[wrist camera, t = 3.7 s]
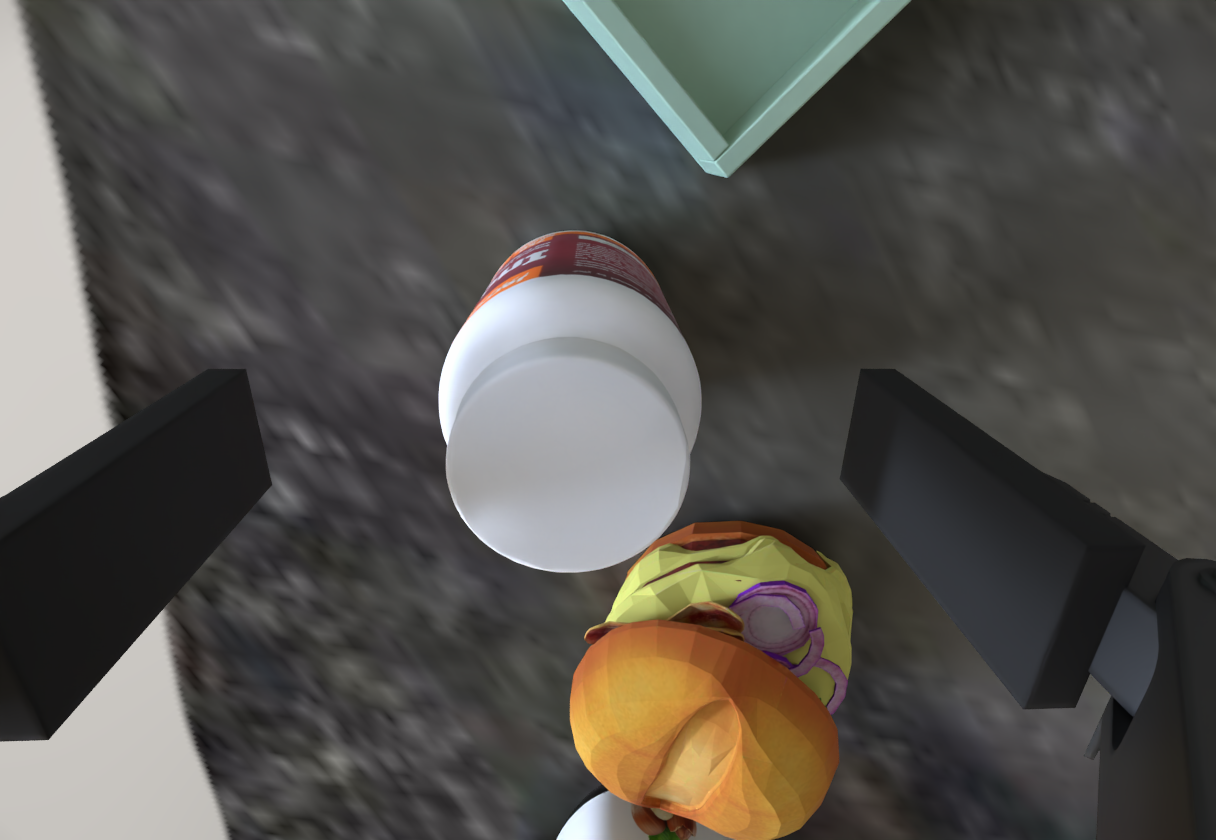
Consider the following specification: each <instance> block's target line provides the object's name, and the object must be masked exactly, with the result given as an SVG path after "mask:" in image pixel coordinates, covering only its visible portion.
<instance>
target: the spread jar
mask: <svg viewBox="0 0 1216 840" xmlns="http://www.w3.org/2000/svg"><path fill="white" fill-rule="evenodd" d="M557 840H736V839H732V838H729V837H725V836H723V835H721V834H719V833H717V832H715V831H714V830H712V829H710V828H708V827H706V826H704V825H702V824H700V823H698V822H696V821H694V820H692V819H688V818H685V817H682V816H678V815H675V814H672V813H669V812H666V811H664V810H661V809H657V808H648V807H643V806H639V805H635V804H633V803H630V802H628V801H625V800H623V799H621V798H619V797H617V796H616V795H614V794H613V793H611V792H610V791H609V790H608V789H607V788H606V787H605V786H604V785H601V786H599V787H598V788H596V789H595V790H594V791H592V792H591V793H590V794H589V795H587V796H586V797H585V798H584V799H583V800H582V801H581V802H580V803H579V805H578V806H577V807H576V808H575V809H574V811H573V812H572V813H571V814H570V816H569V817H568V819H567V820H566V822H565V824H564V826H563V828H562V830H561V832H560V833H559V835H558V837H557Z"/></svg>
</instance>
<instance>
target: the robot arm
mask: <svg viewBox="0 0 1216 840" xmlns="http://www.w3.org/2000/svg"><path fill="white" fill-rule="evenodd" d="M840 480H841V481H842V482H843V484H844V485H845V486H846V487H847V489H848V490H849V491H850V492H851V494H852V495H853V496H854V497H855V499H856V500H857V501H858V502H859V504H860V505H861V506H862V507H863V509H864V510H865V511H866V512H867V514H868V515H869V516H870V517H871V519H872V520H873V521H874V522H875V524H876V525H877V526H878V527H879V529H880V530H881V531H882V533H883V534H884V535H885V536H886V538H887V539H888V540H889V541H890V543H891V544H892V545H893V546H894V548H895V549H896V550H897V551H898V553H899V554H900V555H901V556H902V558H903V559H904V560H905V561H906V563H907V564H908V565H909V566H910V568H911V569H912V570H913V571H914V573H915V574H916V575H917V576H918V578H919V579H920V580H921V581H922V583H923V584H924V585H925V587H926V588H927V589H928V590H929V592H930V593H931V594H932V595H933V597H934V598H935V599H936V600H937V602H938V603H939V604H940V605H941V607H942V608H943V609H944V610H945V612H946V613H947V614H948V615H949V617H950V618H951V619H952V620H953V622H954V623H955V624H956V625H957V627H958V628H959V629H960V630H961V632H962V633H963V634H964V635H965V637H966V638H967V639H968V640H969V642H970V643H971V644H972V646H973V647H974V648H975V649H976V651H977V652H978V653H979V654H980V656H981V657H982V658H983V659H984V661H985V662H986V663H987V664H988V666H989V667H990V668H991V669H992V671H993V672H994V673H995V674H996V676H997V677H998V678H999V679H1000V681H1001V682H1002V683H1003V684H1004V686H1005V687H1006V688H1007V689H1008V691H1009V692H1010V693H1011V694H1012V696H1013V697H1014V698H1015V700H1016V701H1017V702H1018V703H1019V705H1020V706H1021V707H1022V708H1023V709H1048V708H1075V707H1076V705H1077V703H1078V700H1079V698H1080V696H1081V693H1082V691H1083V689H1084V686H1085V684H1086V682H1087V680H1088V677H1089V675H1090V674H1091V675H1092V676H1093V677H1094V678H1095V679H1096V680H1097V681H1098V682H1099V683H1100V684H1101V685H1102V686H1103V687H1104V688H1105V689H1106V690H1107V691H1108V692H1109V693H1110V694H1111V698H1110V700H1109V702H1108V704H1107V706H1106V708H1105V711H1104V713H1103V715H1102V717H1101V719H1100V721H1099V724H1098V726H1097V728H1096V730H1095V732H1094V734H1093V737H1092V739H1091V741H1090V743H1089V745H1088V747H1087V749H1086V752H1085V754H1084V756H1085V757H1087V758H1090V759H1092V760H1094V758H1095V756H1096V755H1097V753H1098V751H1100V767H1099V789H1098V812H1097V834H1096V840H1216V561H1212V560H1208V559H1191V558H1186V559H1182V560H1177V559H1176V558H1174V557H1173V556H1171V555H1170V554H1169V553H1167V552H1166V551H1164V550H1163V549H1161V548H1160V547H1158V546H1157V545H1155V544H1154V543H1153V542H1151V541H1150V540H1148V539H1147V538H1145V537H1144V536H1142V535H1141V534H1139V533H1138V532H1137V531H1135V530H1134V529H1132V528H1131V527H1129V526H1128V525H1126V524H1125V523H1124V522H1122V521H1121V520H1119V519H1118V518H1116V517H1111V516H1110V513H1109V512H1108V511H1106V510H1105V509H1103V508H1102V507H1100V506H1099V505H1097V504H1096V503H1090V499H1089V498H1087V497H1086V496H1084V495H1083V494H1081V493H1080V492H1078V491H1077V490H1076V489H1074V488H1073V487H1071V486H1070V485H1068V484H1067V483H1065V482H1063V481H1061V480H1059V479H1056V478H1054V477H1052V476H1050V475H1047V474H1045V473H1043V472H1041V471H1039V470H1038V469H1036V468H1035V467H1034V466H1032V465H1031V464H1029V463H1028V462H1027V461H1025V460H1024V459H1022V458H1021V457H1019V456H1018V455H1017V454H1015V453H1014V452H1012V451H1011V450H1009V449H1008V448H1007V447H1005V446H1004V445H1002V444H1001V443H999V442H998V441H997V440H995V439H994V438H992V437H991V436H989V435H988V434H987V433H985V432H984V431H982V430H981V429H979V428H978V427H977V426H975V425H974V424H972V423H971V422H969V421H968V420H967V419H965V418H964V417H962V416H961V415H960V414H958V413H957V412H955V411H954V410H952V409H951V408H950V407H948V406H947V405H945V404H944V403H942V402H941V401H940V400H938V399H937V398H935V397H934V396H932V395H931V394H930V393H928V392H927V391H925V390H924V389H922V388H921V387H920V386H918V385H917V384H915V383H914V382H912V381H911V380H910V379H908V378H907V377H905V376H904V375H903V374H901V373H900V372H898V371H897V370H895V369H861V370H860V376H859V381H858V386H857V391H856V397H855V402H854V407H853V412H852V418H851V423H850V428H849V434H848V439H847V444H846V449H845V455H844V460H843V465H842V470H841V476H840ZM271 485H272V482H271V478H270V474H269V469H268V465H267V460H266V456H265V451H264V447H263V443H262V438H261V434H260V429H259V425H258V421H257V416H256V412H255V407H254V403H253V399H252V394H251V390H250V385H249V381H248V376H247V372H246V369H207V370H206V371H204V372H203V373H201V374H199V375H198V376H196V377H195V378H193V379H191V380H190V381H188V382H187V383H185V384H183V385H182V386H180V387H179V388H177V389H175V390H174V391H172V392H170V393H169V394H167V395H166V396H164V397H162V398H161V399H159V400H158V401H156V402H154V403H153V404H151V405H150V406H148V407H146V408H145V409H143V410H142V411H140V412H138V413H137V414H135V415H134V416H132V417H130V418H129V419H127V420H125V421H124V422H122V423H121V424H119V425H117V426H116V427H114V428H113V429H111V430H109V431H108V432H106V433H105V434H103V435H101V436H100V437H98V438H97V439H95V440H93V441H92V442H90V443H89V444H87V445H85V446H84V447H82V448H81V449H79V450H77V451H76V452H74V453H73V454H71V455H69V456H68V457H66V458H64V459H63V460H61V461H60V462H58V463H56V464H55V465H53V466H52V467H50V468H49V469H47V470H45V471H44V472H42V473H40V474H39V475H37V476H36V477H34V478H32V479H31V480H29V481H28V482H26V483H24V484H23V485H21V486H19V487H18V488H16V489H15V490H13V491H11V492H10V493H8V494H7V495H5V496H3V497H1V498H0V741H29V740H49V739H50V738H51V736H52V735H53V734H54V733H55V731H57V729H58V728H59V727H60V726H61V725H62V724H63V723H64V721H65V720H66V719H67V718H68V717H69V716H70V715H71V714H72V712H73V711H74V710H75V709H76V708H77V707H78V706H79V704H80V703H81V702H82V701H83V700H84V698H85V697H86V696H87V695H88V694H89V693H90V692H91V691H92V689H93V688H94V687H95V686H96V685H97V684H98V683H99V682H100V680H101V679H102V678H103V677H104V676H105V675H106V674H107V672H108V671H109V670H110V669H111V668H112V667H113V666H114V664H115V663H116V662H117V661H118V660H119V659H120V657H121V656H122V655H123V654H124V653H125V652H126V651H127V650H128V648H129V647H130V646H131V645H132V644H133V642H135V641H136V639H137V638H138V637H139V636H140V635H141V634H142V633H143V631H144V630H145V629H146V628H147V627H148V626H149V624H150V623H151V622H152V621H153V620H154V619H155V618H156V617H157V615H158V614H159V613H160V612H161V611H162V610H163V609H164V607H165V606H166V605H167V604H168V603H169V602H170V601H171V599H172V598H173V597H174V596H175V595H176V594H177V593H178V591H179V590H180V589H181V588H182V587H183V586H184V585H185V583H186V582H187V581H188V580H189V579H190V578H191V577H192V576H193V574H194V573H195V572H196V571H197V570H198V569H199V568H200V566H201V565H202V564H203V563H204V562H205V561H206V560H207V558H208V557H209V556H210V555H211V554H212V553H213V552H214V550H215V549H216V548H217V547H218V546H219V545H220V544H221V542H222V541H223V540H224V539H225V538H226V537H227V536H228V534H229V533H230V532H231V531H232V530H233V529H234V528H235V526H236V525H237V524H238V523H239V522H240V521H241V520H242V518H243V517H244V516H245V515H246V514H247V513H248V512H249V510H250V509H251V508H252V507H253V506H254V505H255V504H256V502H257V501H258V500H259V499H260V498H261V497H262V496H263V495H264V493H265V492H266V491H267V490H268V489H269V488H270V487H271Z"/></svg>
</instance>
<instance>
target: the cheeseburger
mask: <svg viewBox="0 0 1216 840" xmlns="http://www.w3.org/2000/svg"><path fill="white" fill-rule="evenodd" d="M852 616H853V610H852V593H851V589H850V586H849V584H848V581H847V578H846V576H845V574H844V573H843V571H842V570H841V568H840V566H839V565H838V563H836V562H834V561H832V560H830V559H828V558H826V557H825V556H824V555H823V554H822V553H821V552H818V551H816V552H815V551H814V550H813V549H812V548H811V547H809V546H807V545H806V544H804V543H803V542H801V541H799V540H798V539H796V538H795V537H793V536H792V535H790V534H788V533H787V532H785V531H784V530H781V529H776V528H772V527H767V526H762V525H758V524H753V523H749V522H744V521H723V522H701V523H693V524H691V525H689V526H687V527H685V528H682V529H680V530H678V531H676V532H673V533H671V534H669V535H667V536H664V537H662V538H660V539H658V540H655V541H654V543H653V544H652V545H651V546H650V547H649V548H648V549H647V550H646V551H645V553H644V554H643V555H642V556H641V557H640V558H639V559H638V560H637V562H636V563H635V564H634V565H633V566H632V567H631V568H630V569H629V571H628V574H627V577H626V580H625V582H624V584H623V586H622V587H621V589H620V591H619V593H618V595H617V597H616V599H615V602H614V604H613V607H612V610H611V613H610V614H609V615H608V617H607V619H606V622H605V623H602V624H599V625H596V626H594V627H592V628H590V629H589V630H588V631H587V632H586V634H585V637H584V639H585V641H586V642H587V643H589V644H593V645H592V646H590V647H589V649H588V651H587V652H586V654H585V656H584V657H583V659H582V660H581V662H580V664H579V665H578V667H577V669H576V671H575V673H574V676H573V683H572V690H571V697H570V722H571V727H572V732H573V737H574V741H575V746H576V749H577V751H578V753H579V755H580V757H581V758H582V760H583V762H584V764H585V766H586V767H587V769H588V770H589V771H590V772H591V773H592V774H593V775H594V776H595V777H596V778H597V779H598V780H599V781H600V782H601V783H602V784H603V785H604V786H605V787H606V788H607V789H608V790H609V791H610V792H611V793H613V794H614V795H616V796H617V797H619V798H621V799H623V800H625V801H628V802H630V803H633V804H635V805H639V806H643V807H648V808H657V809H661V810H664V811H666V812H669V813H672V814H675V815H678V816H682V817H685V818H688V819H692V820H694V821H696V822H698V823H700V824H702V825H704V826H706V827H708V828H710V829H712V830H714V831H715V832H717V833H719V834H721V835H723V836H725V837H729V838H732V839H736V840H773V839H776V838H780V837H784V836H786V835H788V834H790V833H792V832H794V831H796V830H799V829H800V828H801V827H802V826H803V825H804V824H805V823H806V821H807V820H808V819H809V818H810V817H811V816H812V815H813V813H814V812H815V811H816V810H817V809H818V808H819V807H820V805H821V804H822V801H823V799H824V797H825V795H826V793H827V791H828V788H829V786H830V783H831V781H832V779H833V776H834V774H835V771H836V769H837V766H838V764H839V746H838V730H837V727H836V725H835V723H834V721H833V719H832V717H831V715H832V714H833V713H834V712H835V711H836V709H837V708H838V706H839V705H840V703H841V702H842V700H843V699H844V697H845V695H846V689H847V683H848V676H849V672H850V668H851V651H852V647H851V643H850V639H851V626H852Z"/></svg>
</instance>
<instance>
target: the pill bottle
mask: <svg viewBox="0 0 1216 840" xmlns="http://www.w3.org/2000/svg"><path fill="white" fill-rule="evenodd" d="M701 409H702V405H701V385H700V379H699V375H698V371H697V368H696V365H695V361H694V359H693V356H692V354H691V352H690V349H689V346H688V344H687V342H686V340H685V338H684V336H683V334H682V332H681V330H680V328H679V326H678V324H677V322H676V320H675V317H674V315H673V314H672V312H671V309H670V307H669V305H668V304H667V302H666V300H665V297H664V295H663V293H662V291H661V289H660V286H659V284H658V282H657V280H656V279H655V277H654V275H653V274H652V272H651V271H650V269H649V268H648V267H647V266H646V264H645V263H644V262H643V261H642V260H641V259H640V258H639V257H638V256H637V255H636V254H635V253H634V252H633V251H632V250H630V249H629V248H628V247H626V246H624V245H623V244H621V243H620V242H618V241H616V240H614V239H612V238H610V237H607V236H605V235H601V234H598V233H594V232H589V231H580V230H568V231H559V232H554V233H550V234H547V235H544V236H541V237H538V238H536V239H534V240H532V241H530V242H528V243H527V244H525V245H523V246H522V247H521V248H519V249H518V250H517V251H516V252H514V253H513V254H512V255H511V256H510V257H509V258H508V259H507V260H506V261H505V263H504V264H503V265H502V266H501V267H500V269H499V270H498V272H497V273H496V275H495V276H494V278H493V279H492V281H491V283H490V285H489V286H488V288H487V289H486V291H485V293H484V294H483V296H482V298H481V299H480V301H479V302H478V303H477V304H476V306H475V308H474V310H473V311H472V313H471V314H470V316H469V318H468V319H467V321H466V322H465V324H464V325H463V327H462V328H461V330H460V331H459V333H458V335H457V336H456V338H455V340H454V341H453V343H452V345H451V348H450V350H449V352H448V355H447V357H446V360H445V363H444V366H443V370H442V375H441V379H440V387H439V415H440V422H441V427H442V431H443V435H444V438H445V441H446V443H447V452H446V477H447V482H448V486H449V489H450V493H451V496H452V499H453V502H454V504H455V506H456V508H457V510H458V512H459V514H460V515H461V517H462V518H463V520H464V521H465V523H466V524H467V525H468V527H469V528H470V529H471V530H472V531H473V532H474V533H475V534H476V536H477V537H478V538H479V539H481V540H482V541H483V542H484V543H485V544H486V545H488V546H489V547H490V548H492V549H493V550H495V551H496V552H498V553H499V554H501V555H503V556H505V557H507V558H509V559H511V560H513V561H515V562H517V563H520V564H523V565H526V566H529V567H532V568H536V569H542V570H547V571H552V572H586V571H592V570H598V569H602V568H606V567H609V566H612V565H615V564H617V563H620V562H622V561H625V560H627V559H629V558H631V557H633V556H635V555H636V554H638V553H640V552H641V551H643V550H644V549H646V548H647V547H648V546H649V545H651V544H652V543H653V542H654V541H655V540H657V539H658V538H659V537H660V536H661V535H662V534H663V532H664V531H665V530H666V529H667V528H668V527H669V525H670V524H671V522H672V521H673V520H674V518H675V517H676V515H677V513H678V511H679V509H680V507H681V505H682V502H683V500H684V497H685V494H686V490H687V487H688V482H689V475H690V453H691V451H692V448H693V446H694V443H695V440H696V436H697V432H698V428H699V423H700V418H701Z"/></svg>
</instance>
